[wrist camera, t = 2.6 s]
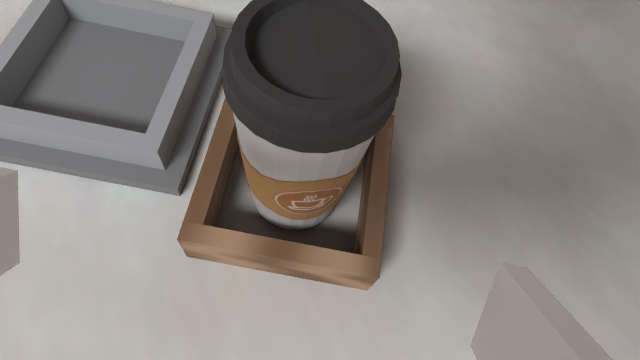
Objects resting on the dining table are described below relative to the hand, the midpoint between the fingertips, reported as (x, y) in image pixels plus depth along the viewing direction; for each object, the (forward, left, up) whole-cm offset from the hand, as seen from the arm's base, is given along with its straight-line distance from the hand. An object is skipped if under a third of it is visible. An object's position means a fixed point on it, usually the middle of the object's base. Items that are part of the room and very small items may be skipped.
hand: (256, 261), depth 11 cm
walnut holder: (0, -10, -17) cm, 20 cm away
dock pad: (+16, -16, -17) cm, 28 cm away
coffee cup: (0, -10, -17) cm, 20 cm away
